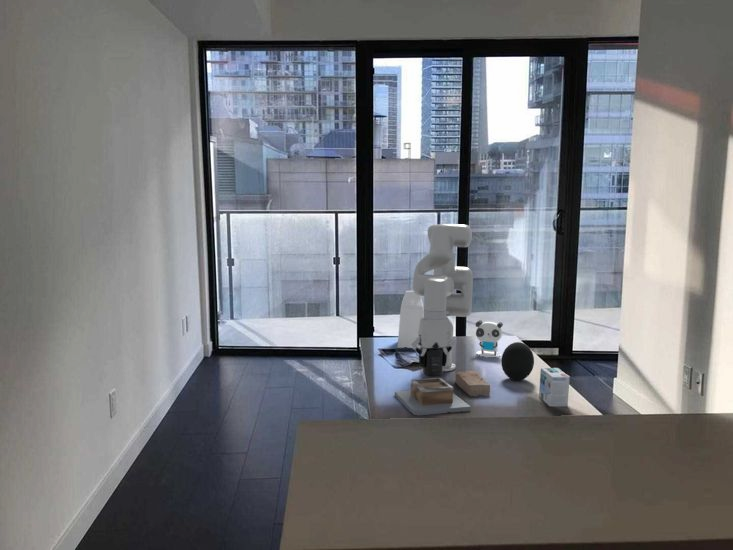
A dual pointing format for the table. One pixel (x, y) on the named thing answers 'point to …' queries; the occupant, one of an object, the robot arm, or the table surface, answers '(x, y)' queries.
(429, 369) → the supplement bottle
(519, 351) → the decorative egg
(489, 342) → the panda figurine
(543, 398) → the light bulb box
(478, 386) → the brick
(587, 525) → the table surface
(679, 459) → the table surface
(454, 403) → the baseplate
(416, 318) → the milk
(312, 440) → the table surface
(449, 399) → the plinth
